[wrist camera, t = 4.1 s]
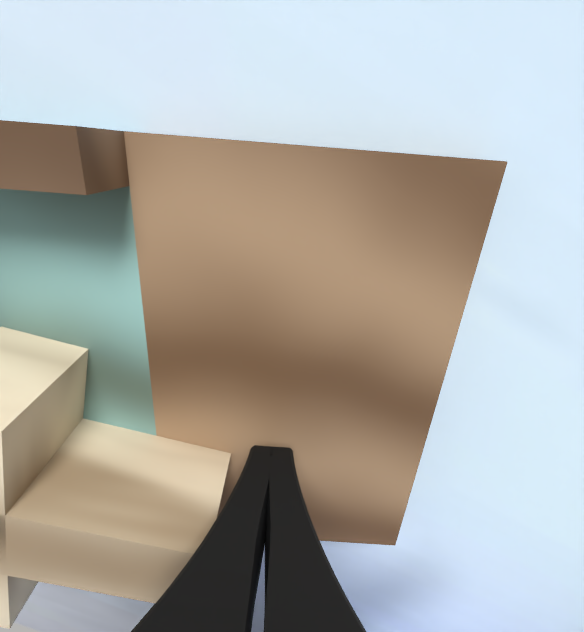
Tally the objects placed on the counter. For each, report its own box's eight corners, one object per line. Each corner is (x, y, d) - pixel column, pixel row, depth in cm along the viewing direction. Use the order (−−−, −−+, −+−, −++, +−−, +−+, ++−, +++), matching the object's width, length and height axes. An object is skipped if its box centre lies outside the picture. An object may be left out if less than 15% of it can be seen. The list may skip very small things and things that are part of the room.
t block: (201, 546, 15) (175, 657, 11) (7, 506, 14) (-79, 613, 11) (250, 390, 11) (232, 484, 8) (1, 326, 11) (-126, 402, 7)
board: (388, 517, 15) (408, 602, 13) (-16, 491, 15) (-90, 571, 12) (483, 160, 10) (563, 164, 7) (-167, 108, 9) (-375, 90, 7)
